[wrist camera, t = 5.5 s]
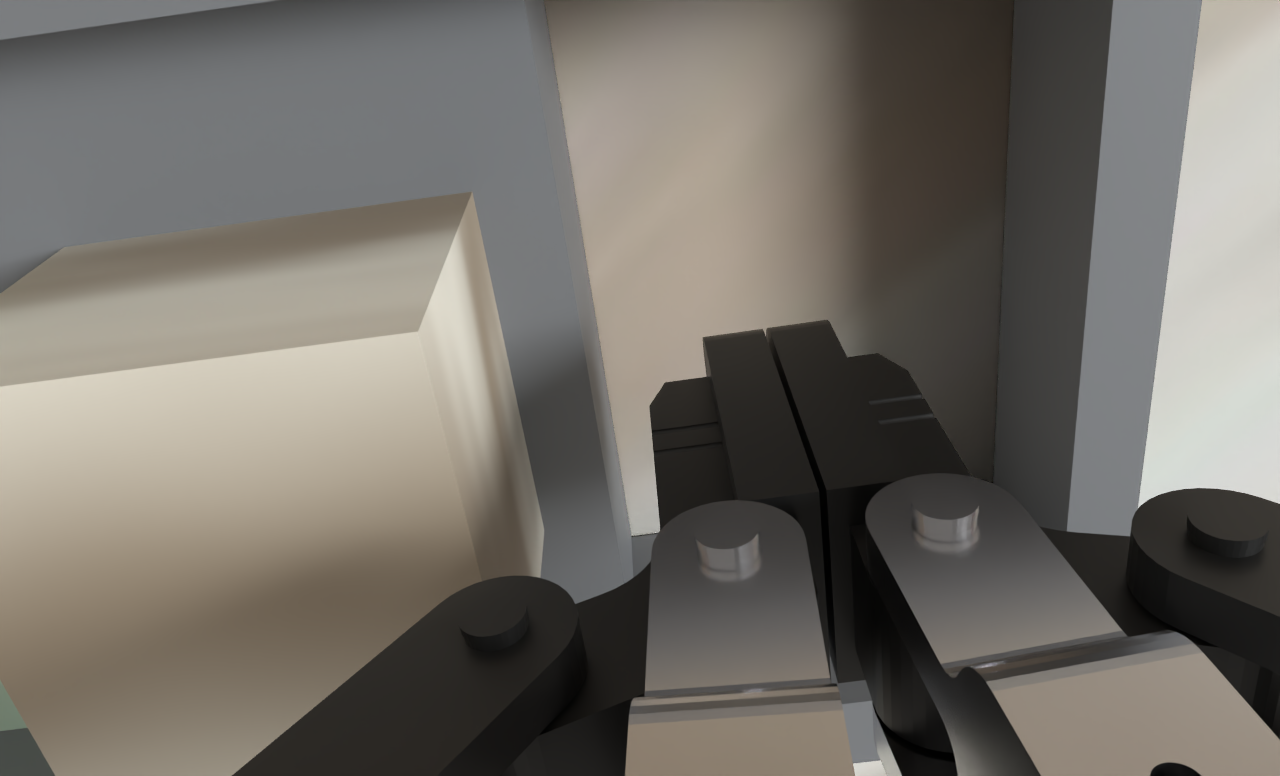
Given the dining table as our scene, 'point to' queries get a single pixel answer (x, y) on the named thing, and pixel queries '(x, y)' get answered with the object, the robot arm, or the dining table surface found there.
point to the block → (245, 474)
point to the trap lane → (549, 220)
